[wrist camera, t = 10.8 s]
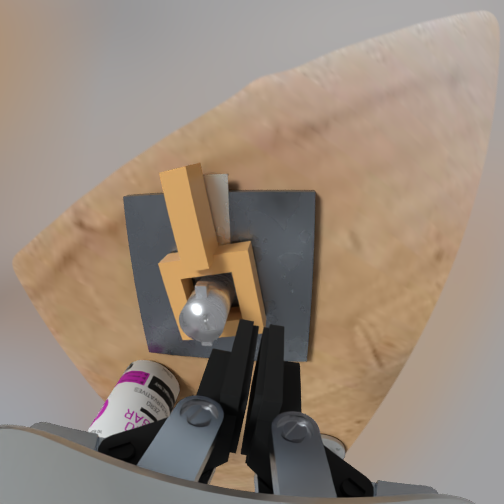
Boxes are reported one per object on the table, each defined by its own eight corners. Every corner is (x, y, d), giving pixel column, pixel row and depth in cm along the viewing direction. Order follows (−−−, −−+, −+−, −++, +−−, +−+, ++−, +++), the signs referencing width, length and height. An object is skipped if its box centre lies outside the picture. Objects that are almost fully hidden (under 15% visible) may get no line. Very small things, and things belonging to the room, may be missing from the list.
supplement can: (125, 384, 43) (83, 455, 29) (133, 347, 40) (82, 424, 26) (173, 406, 43) (142, 483, 29) (187, 372, 40) (152, 457, 26)
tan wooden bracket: (233, 155, 29) (224, 157, 24) (266, 318, 34) (263, 345, 30) (148, 175, 30) (125, 181, 26) (189, 326, 36) (177, 351, 31)
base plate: (306, 355, 37) (309, 407, 29) (152, 346, 39) (125, 390, 31) (314, 172, 30) (326, 182, 22) (126, 178, 32) (80, 192, 24)
